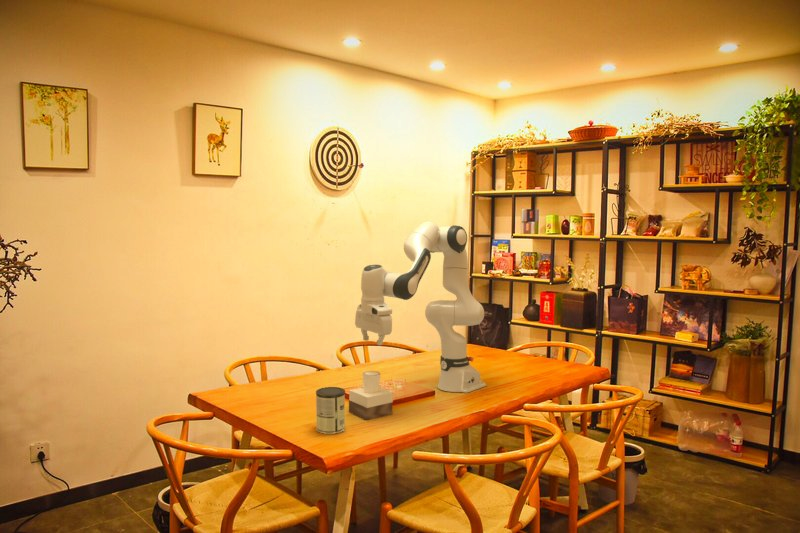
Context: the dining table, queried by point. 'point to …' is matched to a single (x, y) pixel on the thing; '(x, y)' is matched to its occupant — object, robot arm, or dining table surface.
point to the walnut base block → (370, 410)
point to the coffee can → (330, 410)
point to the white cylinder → (371, 381)
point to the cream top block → (370, 397)
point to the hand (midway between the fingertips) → (372, 342)
